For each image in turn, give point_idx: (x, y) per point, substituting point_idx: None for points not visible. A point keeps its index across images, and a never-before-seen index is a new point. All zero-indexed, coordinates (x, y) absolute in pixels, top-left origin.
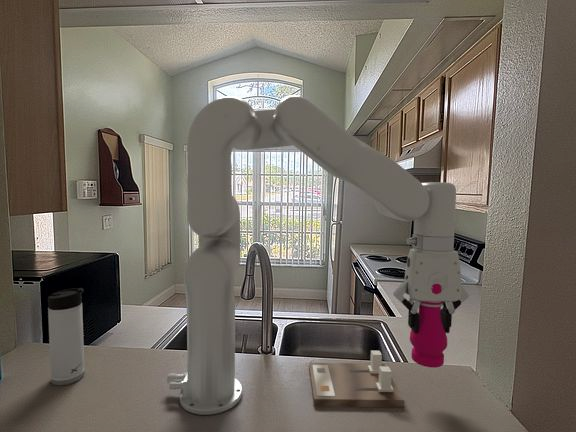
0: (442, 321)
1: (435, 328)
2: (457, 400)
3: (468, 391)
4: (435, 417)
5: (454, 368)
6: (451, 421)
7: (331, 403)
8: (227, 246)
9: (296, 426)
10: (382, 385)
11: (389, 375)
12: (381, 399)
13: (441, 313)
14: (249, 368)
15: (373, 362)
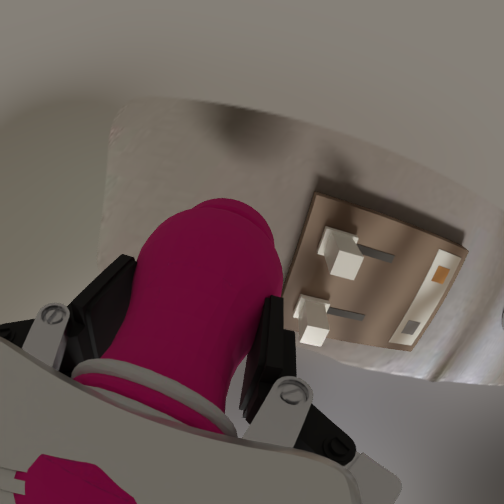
0: (119, 312)
1: (189, 269)
2: (179, 184)
3: (138, 207)
4: (267, 143)
5: None
6: (240, 125)
7: (444, 238)
8: None
9: (497, 209)
10: (351, 241)
11: (342, 246)
12: (365, 211)
13: (104, 346)
14: (471, 351)
15: (325, 316)
